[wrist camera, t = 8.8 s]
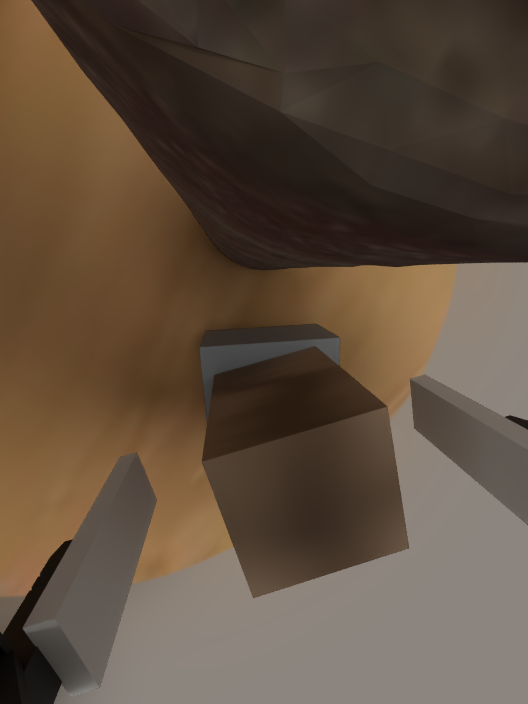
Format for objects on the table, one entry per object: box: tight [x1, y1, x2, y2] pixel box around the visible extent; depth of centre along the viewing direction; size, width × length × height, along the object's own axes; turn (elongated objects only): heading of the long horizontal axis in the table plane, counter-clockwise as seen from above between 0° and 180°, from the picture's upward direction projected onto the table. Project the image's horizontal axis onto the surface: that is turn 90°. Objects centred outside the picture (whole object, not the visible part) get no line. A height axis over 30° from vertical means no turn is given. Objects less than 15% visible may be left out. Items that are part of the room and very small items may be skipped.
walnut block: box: [202, 346, 409, 598], centre depth 14 cm, size 6×6×8 cm
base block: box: [199, 324, 340, 422], centre depth 20 cm, size 8×8×5 cm
